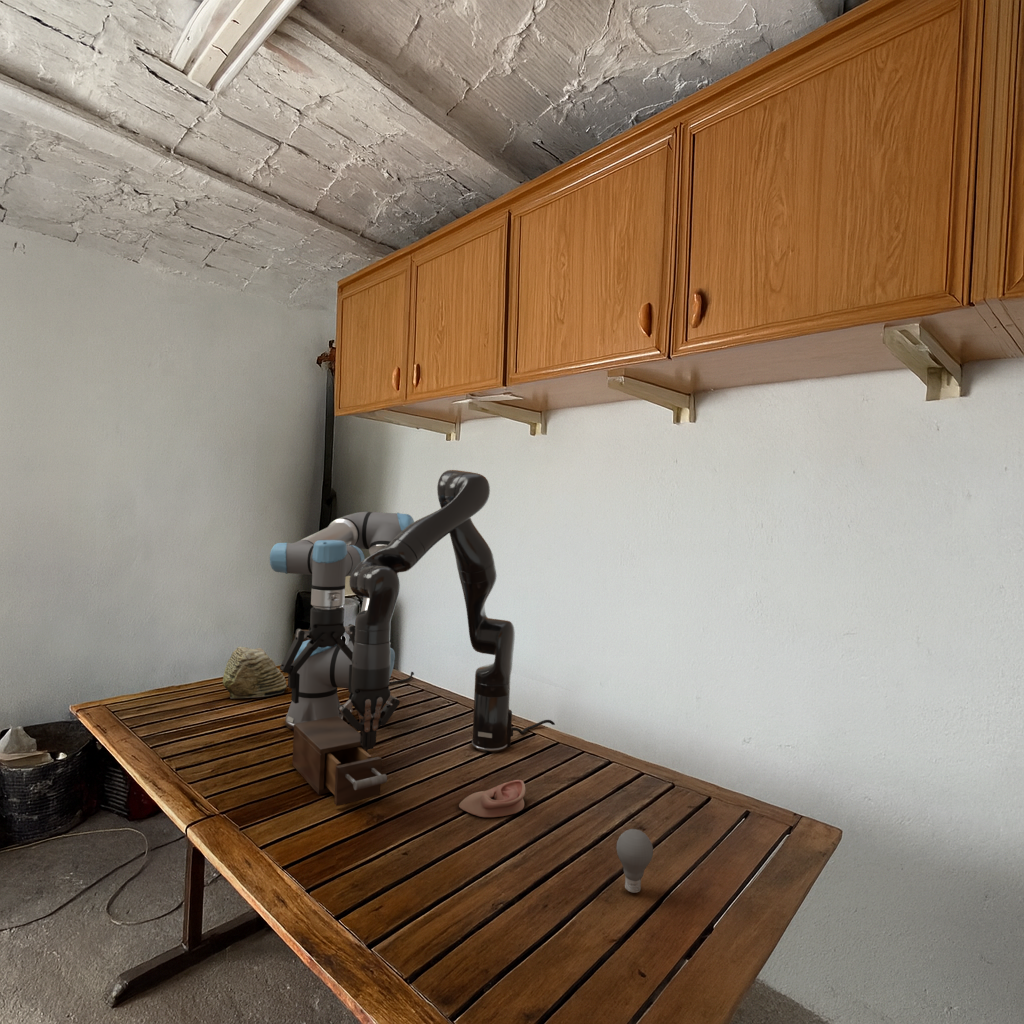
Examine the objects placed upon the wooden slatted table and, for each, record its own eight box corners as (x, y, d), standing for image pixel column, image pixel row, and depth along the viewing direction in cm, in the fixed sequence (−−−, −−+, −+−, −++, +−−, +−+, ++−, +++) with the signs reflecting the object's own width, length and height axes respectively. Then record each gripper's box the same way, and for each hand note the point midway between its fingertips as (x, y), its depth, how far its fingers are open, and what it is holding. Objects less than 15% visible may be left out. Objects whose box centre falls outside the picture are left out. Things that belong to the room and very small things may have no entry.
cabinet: (366, 783, 141) (367, 739, 141) (318, 795, 134) (320, 749, 134) (336, 755, 155) (338, 715, 155) (292, 765, 149) (293, 723, 148)
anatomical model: (455, 794, 129) (470, 770, 140) (454, 813, 129) (469, 788, 140) (519, 803, 126) (529, 778, 137) (518, 822, 126) (528, 796, 137)
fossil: (218, 695, 195) (220, 647, 195) (278, 685, 208) (279, 640, 207) (228, 703, 189) (230, 653, 188) (289, 692, 201) (290, 645, 201)
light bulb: (610, 879, 108) (613, 822, 108) (644, 879, 109) (647, 822, 109) (619, 902, 102) (622, 840, 102) (655, 901, 103) (658, 840, 103)
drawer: (392, 806, 129) (394, 768, 129) (348, 818, 123) (349, 779, 123) (349, 766, 147) (351, 733, 147) (309, 775, 141) (310, 741, 141)
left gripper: (277, 613, 137) (274, 710, 137) (384, 605, 152) (380, 693, 152) (267, 607, 143) (264, 700, 143) (371, 600, 158) (367, 685, 158)
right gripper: (347, 671, 121) (343, 761, 121) (409, 663, 129) (405, 748, 129) (332, 662, 127) (329, 748, 127) (392, 655, 135) (389, 736, 135)
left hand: (324, 697), depth 148 cm, fingers open, 13 cm apart
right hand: (367, 748), depth 128 cm, fingers closed
